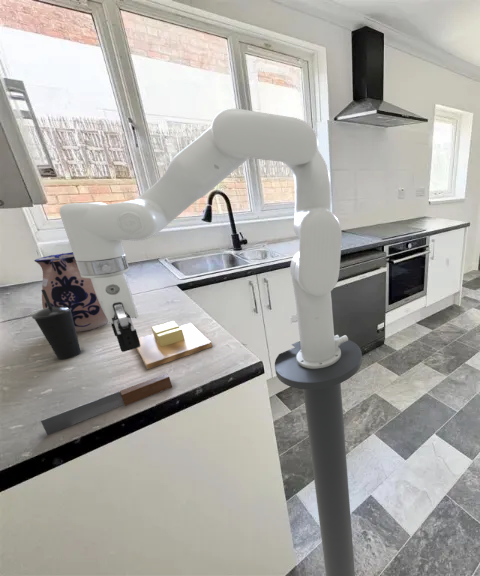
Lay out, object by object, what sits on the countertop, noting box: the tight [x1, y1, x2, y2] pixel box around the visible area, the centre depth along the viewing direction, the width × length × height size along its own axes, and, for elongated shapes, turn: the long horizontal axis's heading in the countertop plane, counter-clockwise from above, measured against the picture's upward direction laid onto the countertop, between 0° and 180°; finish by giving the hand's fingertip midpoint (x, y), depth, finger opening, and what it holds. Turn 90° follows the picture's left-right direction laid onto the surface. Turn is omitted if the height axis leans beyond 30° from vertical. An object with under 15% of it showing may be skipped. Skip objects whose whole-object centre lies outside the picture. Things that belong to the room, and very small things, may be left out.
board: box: [135, 322, 213, 370], centre depth 93 cm, size 16×20×2 cm
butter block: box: [151, 320, 180, 343], centre depth 95 cm, size 6×6×4 cm
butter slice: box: [157, 328, 185, 347], centre depth 91 cm, size 6×2×4 cm, turn 136°
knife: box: [40, 372, 173, 436], centre depth 67 cm, size 21×2×4 cm, turn 136°
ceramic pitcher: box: [33, 251, 109, 333], centre depth 104 cm, size 18×21×25 cm
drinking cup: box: [31, 289, 82, 360], centre depth 86 cm, size 8×8×20 cm
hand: (127, 341), depth 68 cm, fingers open, 9 cm apart
